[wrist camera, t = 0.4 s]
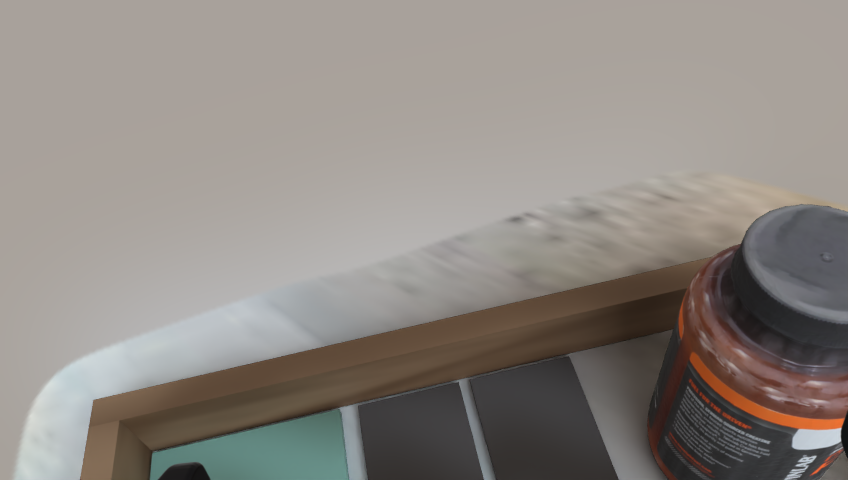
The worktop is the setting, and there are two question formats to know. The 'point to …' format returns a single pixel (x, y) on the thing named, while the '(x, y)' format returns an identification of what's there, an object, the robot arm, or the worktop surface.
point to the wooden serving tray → (398, 398)
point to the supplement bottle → (759, 356)
